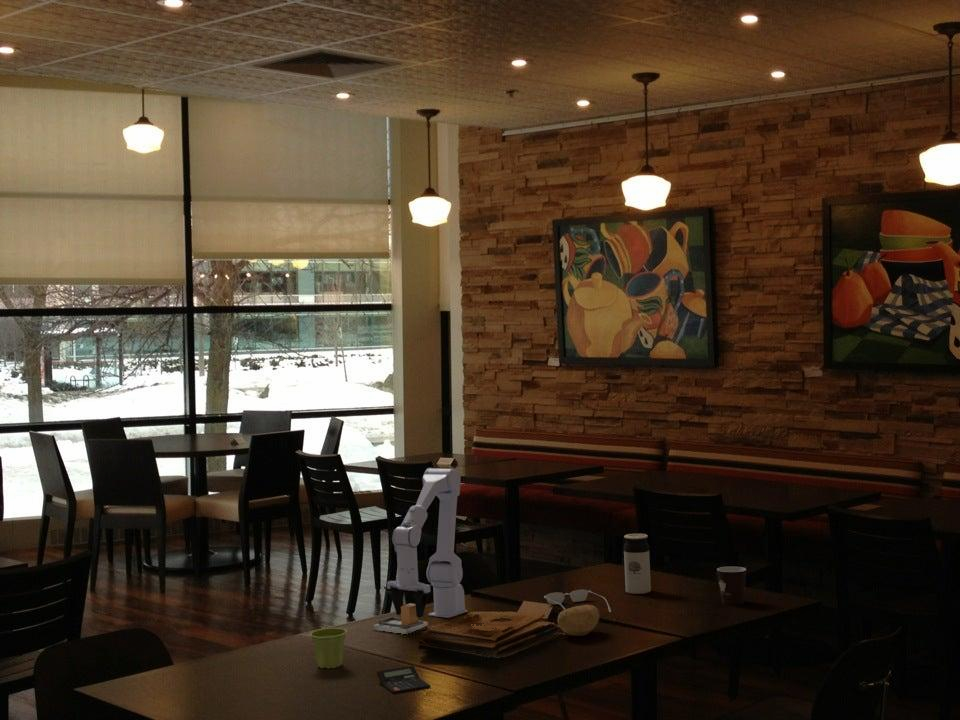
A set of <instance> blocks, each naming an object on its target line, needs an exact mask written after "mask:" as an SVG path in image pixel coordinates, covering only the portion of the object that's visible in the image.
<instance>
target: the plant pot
mask: <svg viewBox="0 0 960 720" xmlns="http://www.w3.org/2000/svg"><path fill="white" fill-rule="evenodd" d="M347 633H348V631H347V630H346V629H345V628H341V627H340V628H339V627H332V628H331V627H330V628H329V627H327V628H321V629H317V630H314V631H312V632H310V634H309V635H310V637H311V639H312V640H311V641H312V642H313V646H314V649H315V650H314V651H315V657H316V659H317V661H316V662H317V666H318V668H319V667H320V669H324V668H326V669H328V670H330V668H332V669H336V667H337V668H339V667H340V666H343V657H344V645H345V644H344V643H345V638H346V635H347Z"/></svg>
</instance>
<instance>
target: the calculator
mask: <svg viewBox="0 0 960 720" xmlns="http://www.w3.org/2000/svg"><path fill="white" fill-rule="evenodd" d="M376 675H377V677H378V679H379V681H380V685H381V686H382V687H383V688H384V689H386V690H387V691H388V692H390V693H391V694H393V695H394V694H401V693H408V692H414V691H421V690H427V689H430V688H431V685H430V684H429V683H428V682H426V681H425V680H424V679H422V678H421V677H420V676H419V674H418V672H417V670H416V668H415V665H410V666H409V665H408V666H402V667H397V668H390V669H383V670H377V672H376Z"/></svg>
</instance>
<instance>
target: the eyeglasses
mask: <svg viewBox="0 0 960 720" xmlns="http://www.w3.org/2000/svg"><path fill="white" fill-rule="evenodd" d="M589 593H590V594H594V595H597V596H598V597H601V598H603V599H604V600H605V603H606V605H607V608H608V612H609V613H612V608H611V607H610V604H609V603H608V600H607V599H606V598H605V597H604V596H602V595H600V594H597V593H595V592H592V590H588V589H577V590H573V591H571V592H570V593H568V592H566V593H563V592H551V593H548V594H547V595H544V596H543V599H545V600H546V601H547V603H548V604H549V603H550V604H553V605H560V606H561V607H562V609H563V610H565V609H566V608H565V607H564V606H563V605H562V603H563V602H564V601H565V597H566V595H567V596H568V595H569V597H570V598H571V601H572V602H573V603H576V602H577V603H578V602H585V601H586V600H587V597H588V595H589ZM550 604H549V605H550Z"/></svg>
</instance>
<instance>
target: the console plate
mask: <svg viewBox="0 0 960 720" xmlns="http://www.w3.org/2000/svg"><path fill="white" fill-rule="evenodd" d="M427 625H428V626H429V621H424V620H421V619H420V620H419V621H418V622H416V623H413V624H410V625H408V626H407V625H402V621H401V618H400V617H394V616H390V617H386V618H383V619H379V620H378V623H376V624H373V631H375V630H377V631H376V632H382V631H385V632H384V633H389V632H393V633H392V634H396V633H401V634H400V635H403V634H407V635H409V634H408V633H410V634H412V633H411V632H413V633H415V632H414V631H416V630H419V629H421V628H422V627H424V626H427ZM421 630H422V629H421ZM419 631H420V630H419ZM416 632H417V631H416Z"/></svg>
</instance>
